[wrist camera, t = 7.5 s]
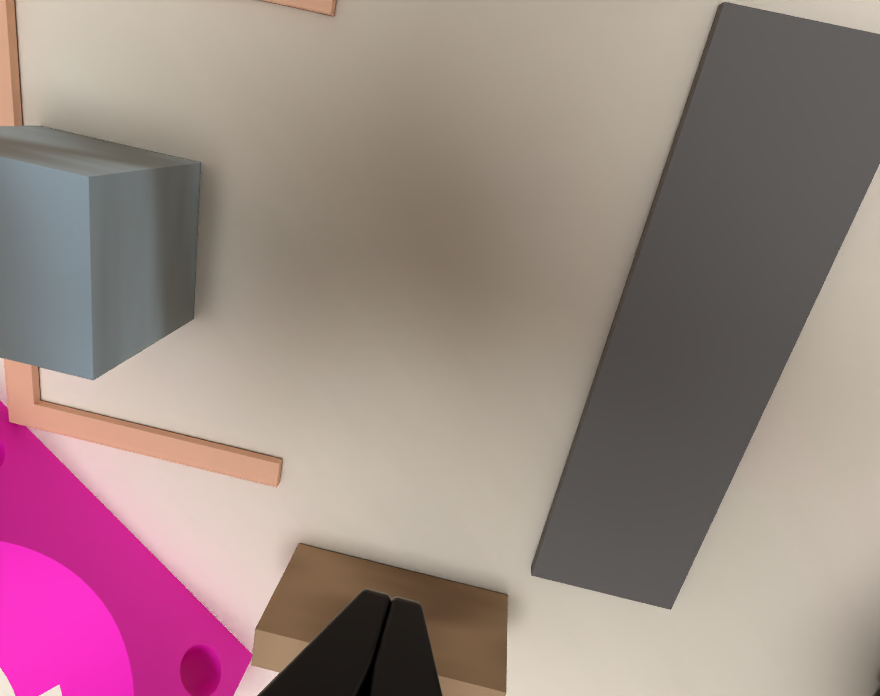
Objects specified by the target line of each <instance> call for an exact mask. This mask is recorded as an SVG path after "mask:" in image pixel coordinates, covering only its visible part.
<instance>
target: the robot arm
mask: <svg viewBox="0 0 880 696" xmlns="http://www.w3.org/2000/svg"><path fill="white" fill-rule="evenodd" d="M257 696H443V694H442V690H441V685H440V681H439V677H438V673H437V668H436V664H435V660H434V655H433V651H432V647H431V643H430V638H429V634H428V630H427V625H426V621H425V617H424V613H423V608H422V606H421V604H420V603H419V602H417V601H414V600H410V599H406V598H402V597H399V596H396V597H394V598H393V599H392V601H391V596H390V595H389V594H387V593H384V592H380V591H376V590H372V589H368V588H366V589H363V590H362V591H361V592H360V593H359V594H358V595H357V596H356V597H355V598H354V599H353V600H352V601H351V602H350V603H349V604H348V605H347V606H346V607H345V608H344V609H343V610H342V611H341V612H340V613H339V614H338V615H337V616H336V617H335V618H334V619H333V620H332V621H331V622H330V623H329V624H328V625H327V626H326V627H325V628H324V629H323V630H322V631H321V632H320V633H319V634H318V635H317V636H316V637H315V638H314V639H313V640H312V641H311V642H310V643H309V644H308V645H307V646H306V647H305V648H304V649H303V650H302V651H301V652H300V653H299V654H298V655H297V656H296V657H295V658H294V659H293V660H292V661H291V662H290V663H289V664H288V665H287V666H286V667H285V668H284V669H283V670H282V671H281V672H280V673H279V674H278V675H277V676H276V677H275V678H274V679H273V680H272V681H271V682H270V683H269V684H268V685H267V686H266V687H265V688H264V689H263V690H262V691H261V692H260V693H259V694H258V695H257Z"/></svg>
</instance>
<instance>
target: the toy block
mask: <svg viewBox="0 0 880 696" xmlns="http://www.w3.org/2000/svg"><path fill="white" fill-rule="evenodd" d="M251 658H252V654H251V653H250V652H249V651H248V650H247V649H246V648H245V647H244V646H243V645H242V644H241V643H240V642H239V641H238V640H237V639H236V638H235V637H234V636H233V635H232V634H231V633H230V632H229V631H228V630H227V629H226V628H225V627H224V626H223V625H222V624H221V623H220V622H219V621H218V620H217V619H216V618H215V617H214V616H213V615H212V614H211V613H210V612H209V611H208V610H207V609H206V608H205V607H204V606H203V605H202V604H201V603H200V602H199V601H198V600H197V599H196V598H195V597H194V596H193V594H192V593H191V592H190V591H189V590H188V589H187V588H186V587H185V586H184V585H183V584H182V583H181V582H180V581H179V580H178V579H177V578H176V577H175V576H174V575H173V574H172V573H171V572H170V571H169V570H168V569H167V568H166V567H165V566H164V565H163V564H162V563H161V562H160V561H159V560H158V559H157V558H156V557H155V556H154V555H153V554H152V553H151V552H150V551H149V550H148V549H147V548H146V547H145V546H144V545H143V544H142V543H141V542H140V541H139V540H138V539H137V538H136V537H135V536H134V535H133V534H132V533H131V532H130V531H129V530H128V529H127V528H126V527H125V526H124V525H123V524H122V523H121V522H120V521H119V520H118V519H117V518H116V517H115V516H114V515H113V514H112V513H111V512H110V511H109V510H108V509H107V508H106V507H105V506H104V505H103V504H102V503H101V502H100V501H99V500H98V499H97V498H96V497H95V496H94V495H93V494H92V493H91V492H90V491H89V490H88V489H87V488H86V487H85V486H84V485H83V484H82V483H81V482H80V481H79V480H78V479H77V478H76V477H75V476H74V475H73V474H72V473H71V472H70V471H69V470H68V469H67V468H66V467H65V466H64V465H63V464H62V463H61V462H60V461H59V460H58V459H57V457H56V456H55V455H54V454H53V453H52V452H51V451H50V450H49V449H48V448H47V447H46V446H45V445H44V444H43V443H42V442H41V441H40V440H39V439H38V438H37V437H36V436H35V435H34V434H33V433H32V432H31V431H30V430H29V429H28V428H27V427H26V426H24V425H20V424H16V423H12V422H9V412H8V408H7V407H6V406H5V405H4V404H3V403H2V402H1V401H0V668H1V669H2V671H3V672H4V673H5V675H6V676H7V678H8V680H9V682H10V684H11V686H12V688H13V690H14V693H15V696H39V695H41V694H43V693H44V692H46V691H48V690H50V689H51V688H53V687H55V686H57V685H59V684H60V688H61V692H62V696H233V695H234V693H235V691H236V689H237V687H238V685H239V683H240V681H241V679H242V677H243V675H244V673H245V671H246V669H247V667H248V664H249V662H250V660H251Z"/></svg>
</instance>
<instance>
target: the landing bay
mask: <svg viewBox="0 0 880 696" xmlns="http://www.w3.org/2000/svg"><path fill="white" fill-rule="evenodd" d="M262 1H267V2H271V3H276V4H281V5H285V6H290V7H295V8H299V9H304V10H309V11H313V12H318V13H323V14H327V15H332V16H334V12H335V4H336V0H262ZM0 126H22V113H21V97H20V82H19V67H18V51H17V36H16V21H15V6H14V0H0ZM4 367H5V379H6V390H7V401H8V412H9V422H12V423H16V424H20V425H24V426H28V427H32V428H36V429H40V430H44V431H48V432H52V433H57V434H61V435H65V436H69V437H73V438H77V439H81V440H85V441H89V442H93V443H97V444H101V445H106V446H110V447H114V448H118V449H122V450H126V451H130V452H134V453H138V454H142V455H146V456H151V457H155V458H159V459H163V460H167V461H171V462H175V463H179V464H183V465H187V466H191V467H195V468H200V469H204V470H208V471H212V472H216V473H220V474H224V475H228V476H232V477H236V478H240V479H245V480H249V481H253V482H257V483H261V484H265V485H269V486H273V487H277V486H278V484H279V483H280V475H281V466H282V459H279V458H275V457H271V456H267V455H263V454H259V453H254V452H250V451H246V450H242V449H238V448H234V447H230V446H226V445H222V444H217V443H213V442H209V441H205V440H201V439H197V438H193V437H189V436H184V435H180V434H176V433H172V432H168V431H164V430H160V429H156V428H151V427H147V426H143V425H139V424H135V423H131V422H127V421H123V420H119V419H114V418H110V417H106V416H102V415H98V414H94V413H90V412H86V411H81V410H77V409H73V408H69V407H65V406H61V405H57V404H53V403H49V402H44V401H40V388H39V372H38V367H37V366H33V365H29V364H25V363H20V362H16V361H12V360H8V359H4Z"/></svg>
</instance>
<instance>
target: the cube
mask: <svg viewBox="0 0 880 696" xmlns="http://www.w3.org/2000/svg"><path fill="white" fill-rule="evenodd" d="M200 171H201V162H196V161H192V160H187V159H183V158H179V157H174V156H170V155H166V154H161V153H157V152H152V151H148V150H144V149H139V148H135V147H131V146H126V145H122V144H117V143H113V142H109V141H104V140H100V139H96V138H91V137H87V136H82V135H78V134H74V133H69V132H65V131H61V130H56V129H52V128H47V127H43V126H0V358H4V359H8V360H12V361H16V362H20V363H25V364H29V365H33V366H37V367H41V368H45V369H49V370H53V371H57V372H61V373H66V374H70V375H74V376H78V377H82V378H86V379H90V380H95V379H96V378H98V377H99V376H101V375H103V374H104V373H106V372H108V371H109V370H111V369H113V368H114V367H116V366H117V365H119V364H121V363H122V362H124V361H126V360H127V359H129V358H131V357H132V356H134V355H135V354H137V353H139V352H140V351H142V350H144V349H145V348H147V347H149V346H150V345H152V344H153V343H155V342H157V341H158V340H160V339H162V338H163V337H165V336H167V335H168V334H170V333H171V332H173V331H175V330H176V329H178V328H180V327H181V326H183V325H185V324H186V323H188V322H189V321H191V320H193V319H194V299H195V277H196V256H197V235H198V214H199V192H200Z"/></svg>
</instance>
